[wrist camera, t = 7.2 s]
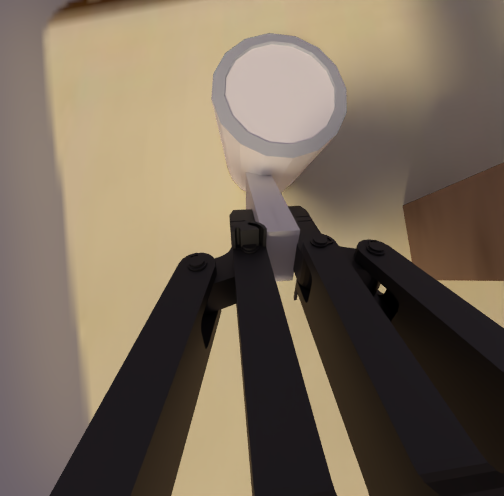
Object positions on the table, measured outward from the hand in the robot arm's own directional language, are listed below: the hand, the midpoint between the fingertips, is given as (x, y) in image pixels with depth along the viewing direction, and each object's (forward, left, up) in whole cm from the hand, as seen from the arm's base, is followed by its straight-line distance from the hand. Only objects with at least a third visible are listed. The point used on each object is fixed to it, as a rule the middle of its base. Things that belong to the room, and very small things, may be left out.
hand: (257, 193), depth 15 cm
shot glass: (-1, -4, -3) cm, 5 cm away
